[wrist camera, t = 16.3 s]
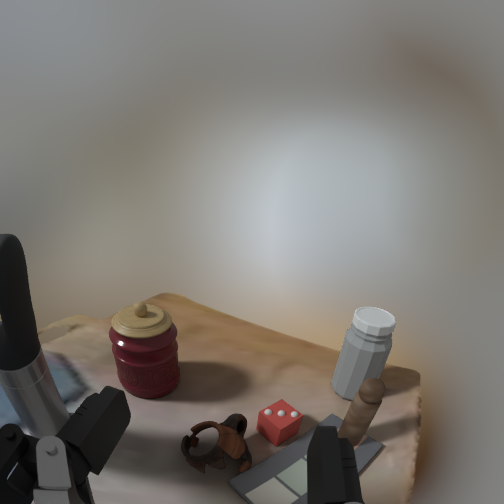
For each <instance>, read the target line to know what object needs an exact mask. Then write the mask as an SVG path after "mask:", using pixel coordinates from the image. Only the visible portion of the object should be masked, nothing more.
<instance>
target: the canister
mask: <svg viewBox="0 0 504 504" xmlns="http://www.w3.org/2000/svg"><path fill="white" fill-rule="evenodd" d="M111 324H112V327H111V328H110V331H109V337H110V340H111V342H112V343H113V345H112V352H113V354H114V357H115V361H116V366H117V373H118V377H119V380H120V382H121V384H122V386H123V387H124V389H125V390H126V391H127V392H129V393H130V394H132V395H134V396H137V397H141V398H158V397H162V396H164V395H167V394H169V393H170V392H172V391H173V390H174V389H175V388H176V387H177V385H178V382H179V378H180V368H179V365H178V352H177V351H178V344H177V341H176V339H175V338H176V336H177V328H176V326H175V325H174V324H173V323H172V318H171V316H170V314H169V313H167V312H166V311H164V310H162V309H160V308H158V307H156V306H153V305H148V304H145V303H143V302H137V303H136V304H135V305H131V306H128V307H126V308H124V309H122V310H121V311H120V312H118V313H117V314H115V315H114V317H113V318H112V322H111Z"/></svg>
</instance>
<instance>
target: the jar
mask: <svg viewBox="0 0 504 504" xmlns="http://www.w3.org/2000/svg"><path fill="white" fill-rule="evenodd" d="M395 325H396V319H395V317H394V316H393V315H392V314H391V313H389V312H387V311H385V310H383V309H380V308H375V307H361V308H359V309H356V310H355V314H354V318H353V322H352V325H351V327H350V328H349V329H347V332H346V335H345V338H344V341H343V345H342V349H341V352H340V355H339V359H338V362H337V365H336V369H335V372H334V375H333V378H332V381H331V385H332V387H333V389H334V391H335V393H336V394H337V395H339V396H340V397H342V398H343V399H346V400H350V401H353V398H354V396H355V394H356V392H357V391H359V388H360V386H361V384H362V383H363V382H364V381H365V380H367V379H369V378H378V379H379V378H380V375H381V373H382V371H383V368H384V366H385V363H386V360H387V358H388V355H389V353H390V350H391V347H392V339H391V337H392V332H393V331H394V328H395Z"/></svg>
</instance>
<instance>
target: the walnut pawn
mask: <svg viewBox="0 0 504 504" xmlns="http://www.w3.org/2000/svg"><path fill="white" fill-rule="evenodd" d="M384 393H385V385H384V383H383V382H382V381H381V380H380V379H378V378H369V379H367V380H365V381H364V382H363V383H362V384H361V386H360V388H359V391H357V392H356V394H355V396H354V398H353V401H352V403H351V405H350V407H349V410H348V412H347V414H346V416H345V418H344V420H343V422H342V424H341V426H340V428H339V430H338V438H348V440H349V441H350V443H351V444H352V445H353V447H354V446H356V445H357V444H358V443H359V442H360V440H361V439H362V437H363V435H364V434H365V432H366V430H367V428H368V427H369V425H370V423H371V421H372V420H373V418H374V416H375V414H376V412H377V410H378V408H379V407H380V405H381V402H382V397H383V396H384Z"/></svg>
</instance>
